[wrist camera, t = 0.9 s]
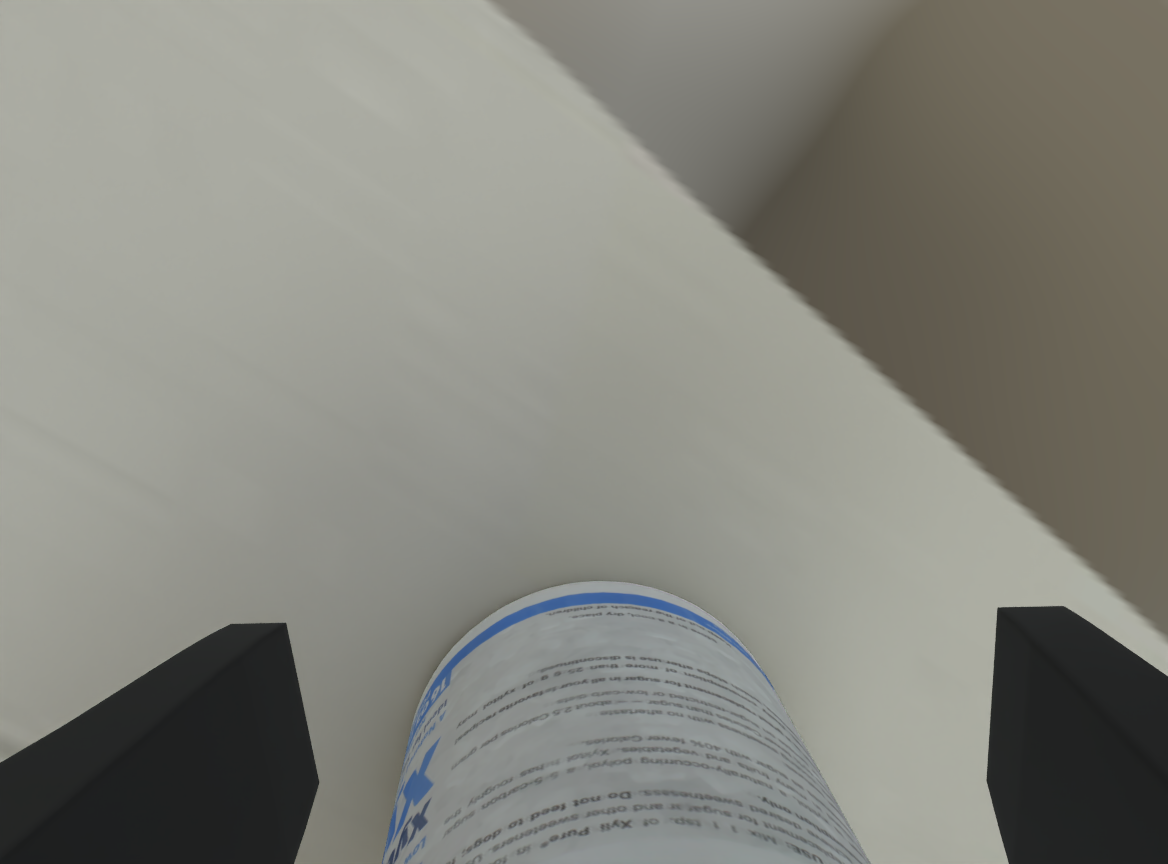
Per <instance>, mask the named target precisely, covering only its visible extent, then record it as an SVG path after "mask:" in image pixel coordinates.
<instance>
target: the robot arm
mask: <svg viewBox="0 0 1168 864" xmlns="http://www.w3.org/2000/svg"><path fill="white" fill-rule="evenodd" d="M987 784H988V788H989V792H990V795H991V799H992V803H993V807H994V811H995V815H996V818H997V822H998V826H999V830H1000V834H1001V837H1002V841H1003V844H1004V848H1005V851H1006V855H1007V858H1008V862H1009V864H1168V676H1166V675H1165V674H1164V673H1162V672H1161V671H1159V670H1158V669H1156V668H1155V667H1153V666H1152V665H1151V664H1149V663H1148V662H1146V661H1145V660H1143V659H1142V658H1140V657H1139V656H1138V655H1136V654H1135V653H1133V652H1132V651H1130V650H1129V649H1128V648H1126V647H1125V646H1123V645H1122V644H1120V643H1119V642H1117V641H1116V640H1115V639H1113V638H1112V637H1110V636H1109V635H1107V634H1106V633H1104V632H1103V631H1102V630H1100V629H1099V628H1097V627H1096V626H1094V625H1093V624H1091V623H1090V622H1088V621H1087V620H1085V619H1084V618H1082V617H1081V616H1079V615H1077V614H1076V613H1074V612H1072V611H1071V610H1069V609H1068V608H1066V607H1064V606H1048V607H1001V608H998V610H997V626H996V641H995V657H994V673H993V688H992V704H991V720H990V735H989V751H988V767H987ZM318 785H319V779H318V774H317V769H316V764H315V760H314V755H313V750H312V745H311V740H310V736H309V731H308V726H307V721H306V716H305V711H304V707H303V702H302V697H301V692H300V687H299V683H298V678H297V673H296V668H295V663H294V659H293V654H292V649H291V644H290V639H289V634H288V630H287V625H286V623H256V624H230V625H228V626H226V627H224V628H222V629H220V630H218V631H216V632H214V633H212V634H210V635H209V636H207V637H205V638H203V639H201V640H200V641H198V642H196V643H195V644H193V645H191V646H190V647H188V648H186V649H185V650H183V651H181V652H180V653H178V654H176V655H175V656H173V657H172V658H170V659H168V660H167V661H165V662H164V663H162V664H160V665H159V666H157V667H156V668H154V669H152V670H151V671H149V672H148V673H146V674H145V675H143V676H141V677H140V678H138V679H137V680H135V681H134V682H132V683H130V684H129V685H127V686H126V687H124V688H122V689H121V690H119V691H118V692H116V693H115V694H113V695H111V696H110V697H108V698H107V699H105V700H103V701H102V702H100V703H99V704H97V705H96V706H94V707H92V708H91V709H89V710H88V711H86V712H84V713H83V714H81V715H80V716H78V717H76V718H75V719H73V720H72V721H70V722H69V723H67V724H65V725H64V726H62V727H60V728H59V729H57V730H55V731H54V732H52V733H50V734H49V735H47V736H45V737H43V738H42V739H40V740H38V741H37V742H35V743H33V744H32V745H30V746H28V747H26V748H25V749H23V750H21V751H20V752H18V753H16V754H15V755H13V756H11V757H9V758H8V759H6V760H4V761H3V762H1V763H0V864H294V862H295V859H296V856H297V853H298V850H299V847H300V844H301V841H302V838H303V835H304V832H305V829H306V825H307V822H308V819H309V815H310V812H311V808H312V805H313V802H314V798H315V795H316V792H317V788H318Z"/></svg>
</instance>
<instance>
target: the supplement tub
mask: <svg viewBox="0 0 1168 864" xmlns="http://www.w3.org/2000/svg"><path fill="white" fill-rule="evenodd" d="M382 864H871V863H870V862H869V860H868V858H867V856H866V854H865V853H864V851H863V849H862V847H861V845H860V843H859V842H858V840H857V838H856V836H855V834H854V833H853V831H852V829H851V827H850V825H849V823H848V822H847V820H846V818H845V816H844V814H843V813H842V811H841V809H840V807H839V805H838V804H837V802H836V800H835V798H834V796H833V794H832V793H831V791H830V789H829V787H828V785H827V784H826V782H825V780H824V778H823V777H822V775H821V773H820V771H819V769H818V768H817V766H816V764H815V762H814V760H813V759H812V757H811V755H810V753H809V751H808V750H807V748H806V746H805V744H804V742H803V741H802V739H801V737H800V735H799V734H798V732H797V730H796V728H795V726H794V725H793V723H792V721H791V719H790V717H789V716H788V714H787V712H786V710H785V708H784V706H783V704H782V703H781V701H780V699H779V697H778V695H777V694H776V692H775V690H774V688H773V686H772V685H771V683H770V681H769V680H768V678H767V677H766V675H765V674H764V672H763V670H762V669H761V667H760V665H759V664H758V663H757V661H756V660H755V658H754V657H753V656H752V654H751V653H750V652H749V650H748V649H747V648H746V647H745V646H744V645H743V643H742V642H741V641H740V640H739V639H738V638H737V637H736V636H735V635H734V634H733V633H732V632H731V631H730V630H729V629H728V628H727V627H726V626H725V625H723V624H722V623H721V622H720V621H718V620H717V619H716V618H714V617H713V616H712V615H710V614H709V613H707V612H705V611H704V610H702V609H701V608H699V607H698V606H696V605H695V604H692V603H690V602H688V601H686V600H684V599H682V598H680V597H678V596H675V595H673V594H670V593H667V592H665V591H662V590H659V589H656V588H652V587H648V586H644V585H639V584H634V583H626V582H614V581H587V582H576V583H569V584H564V585H559V586H554V587H551V588H547V589H544V590H540V591H537V592H534V593H532V594H529V595H527V596H524V597H522V598H520V599H518V600H516V601H514V602H512V603H510V604H508V605H506V606H504V607H502V608H500V609H499V610H497V611H496V612H494V613H493V614H491V615H490V616H488V617H487V618H485V619H484V620H483V621H481V622H480V623H479V624H477V625H476V626H475V627H473V628H472V629H471V630H470V631H469V632H468V633H467V634H466V635H465V636H464V637H463V638H462V639H461V640H460V641H459V642H458V643H457V644H455V645H454V646H453V648H452V649H451V650H450V651H449V653H448V654H447V655H446V656H445V657H444V659H443V660H442V662H441V663H440V665H439V666H438V668H437V669H436V671H435V672H434V674H433V676H432V677H431V679H430V681H429V683H428V685H427V686H426V688H425V690H424V693H423V695H422V697H421V700H420V702H419V705H418V707H417V710H416V713H415V716H414V719H413V723H412V727H411V732H410V736H409V740H408V745H407V750H406V754H405V759H404V763H403V767H402V772H401V776H400V781H399V786H398V790H397V795H396V800H395V805H394V809H393V814H392V818H391V823H390V828H389V832H388V837H387V842H386V847H385V851H384V856H383V861H382Z"/></svg>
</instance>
